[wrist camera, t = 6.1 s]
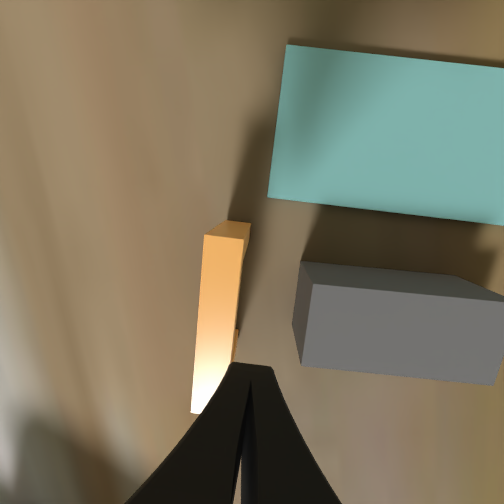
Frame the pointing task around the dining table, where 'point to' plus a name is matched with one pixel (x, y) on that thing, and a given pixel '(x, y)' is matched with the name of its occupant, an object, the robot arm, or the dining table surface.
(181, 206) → the dining table surface
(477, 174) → the mat
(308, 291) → the grey box
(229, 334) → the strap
